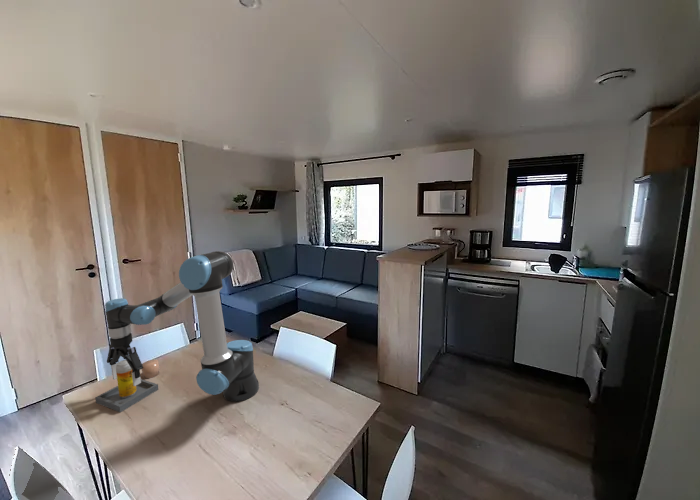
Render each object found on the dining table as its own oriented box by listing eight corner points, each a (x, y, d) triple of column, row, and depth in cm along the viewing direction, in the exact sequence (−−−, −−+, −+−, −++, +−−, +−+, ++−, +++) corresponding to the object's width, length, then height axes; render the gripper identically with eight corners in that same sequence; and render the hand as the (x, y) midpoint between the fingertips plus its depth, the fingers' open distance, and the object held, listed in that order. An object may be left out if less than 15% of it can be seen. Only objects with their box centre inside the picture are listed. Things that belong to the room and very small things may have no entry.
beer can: (129, 398, 126) (125, 366, 124) (115, 398, 126) (111, 366, 124) (140, 389, 132) (136, 358, 130) (126, 389, 132) (122, 358, 130)
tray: (158, 389, 133) (157, 384, 133) (120, 412, 119) (119, 406, 118) (135, 382, 139) (134, 376, 139) (96, 402, 124) (95, 397, 124)
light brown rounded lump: (162, 372, 147) (161, 361, 146) (148, 380, 141) (147, 368, 140) (153, 369, 150) (152, 358, 149) (139, 377, 143) (137, 365, 142)
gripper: (149, 335, 123) (155, 382, 127) (111, 327, 133) (118, 371, 136) (130, 343, 117) (137, 392, 120) (92, 334, 126) (99, 380, 129)
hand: (126, 381), depth 128 cm, fingers open, 13 cm apart
